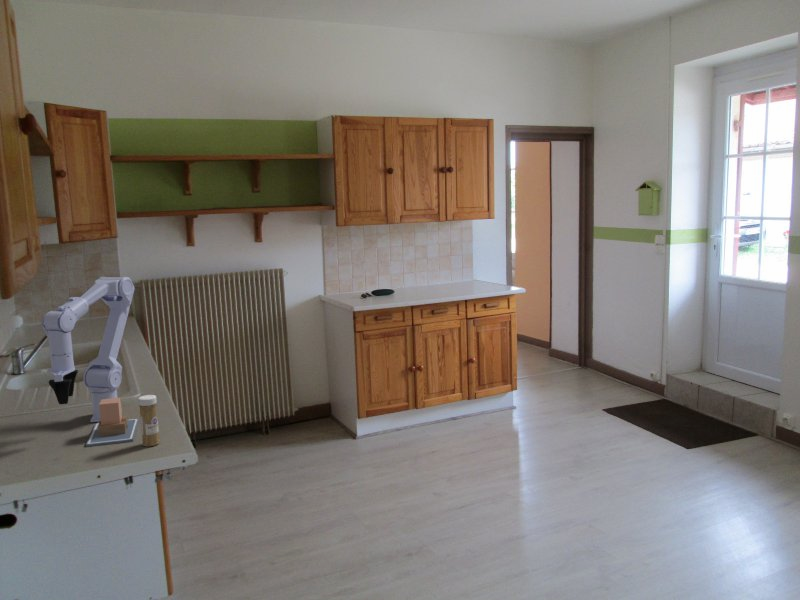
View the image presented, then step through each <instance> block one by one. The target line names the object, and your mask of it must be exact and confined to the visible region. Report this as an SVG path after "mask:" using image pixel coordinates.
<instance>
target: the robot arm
mask: <svg viewBox="0 0 800 600" xmlns="http://www.w3.org/2000/svg"><path fill="white" fill-rule="evenodd" d="M135 289H136V288H135V285H134V283H133V281H132V279H131V278H130V277H128V276H123V277H120V276H117V277H116V276H115V277H114V276H110V277H109V276H100V277H99V278H98V279H96V280H94V282H93V285H92V286H91V287H90V288H89V289H88V290H87V291H86V292H84V293H83V294H82V295H81V296H70V297H69V298H68V301H67V302H65V303H63V304H62V305H59V306H58V307H57V309H55V310H51V311H48V312H47V313H46V314H44V316H43V317H42V322H41V324H40V325H41V327H42V329H43V330H44V331H45V335H46V337H47V338H48V347H49V348H48V349H49V358H50V368H47V370H46V373H49V374H52V375H53V379H49V381H48V384H49V386H50V387H51V389H52V390H53V391H54V394H55V398H56V401H57V402H58V405H68V403H69V397H73V396H74V391H75V390H74V389H75V382H76V377H77V375H78V372H79V370H78V369H76V367H75V362H74V352H73V341H72V330H73V329H74V328H75V325H76V323H77V321H78V320H80V319H81V318H83V316H85V315H86V314H87V313H88V312H89V307H90V306H91V305H93V304H95V303H96V302H97V301H99V300H100V299H101V300H102V301H103V302H104V304H105V305H106V306H109V307H108V308H109V309H110V310H109V313H108V314H109V315H108V317H107V321H106V324H105V328H104V332H103V336H102V340H101V344H100V347H99V352H98V355H97V357H95V358H94V359H92V360H91V361H90V362H89V363H88V366H87V368H86V370H85V371H84V373H83V376H82V378H83V384H84V386H85V387H86V388H87V389H88V391H89V392H90V396H91V406H92V417H91V419H90V420H89V421H90V423H94V422H95V423H96V422H97V423H99V422H100V420H101V419H100V409H99V404H100V402H101V400H102V399H112V398H118V391H117V389H119V387H120V385H121V383H122V380H123V377H122V371H123V366H122V364H120V363H119V361H118V360H117V358H118V354H119V352H120V351H119V350H120V349H121V348H120V347H121V343H122V340H123V336H124V332H125V328H126V325H127V319H128V316H129V312H130V306H131V305H132V301H133V298H134V292H135ZM121 410H122V411H123V408H121Z"/></svg>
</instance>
